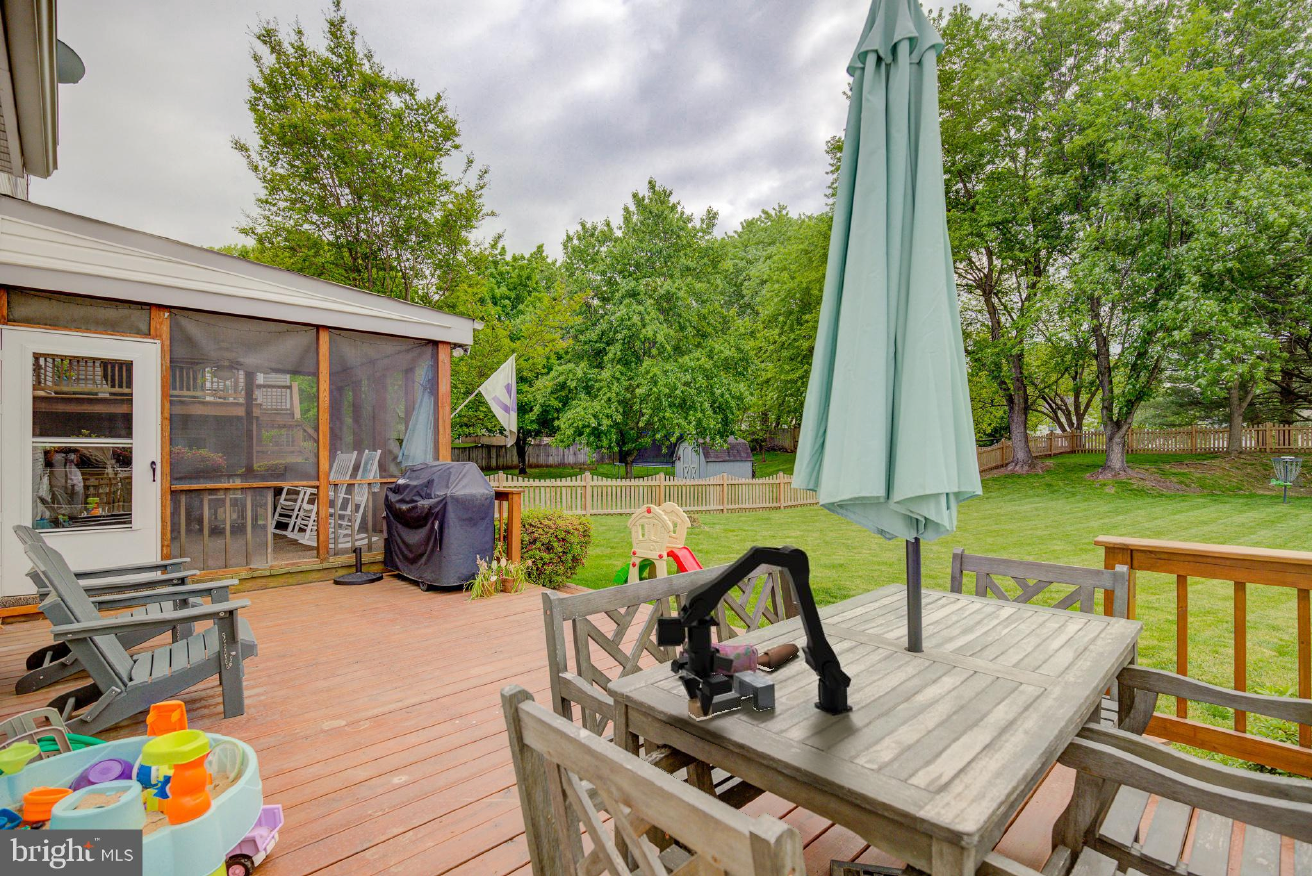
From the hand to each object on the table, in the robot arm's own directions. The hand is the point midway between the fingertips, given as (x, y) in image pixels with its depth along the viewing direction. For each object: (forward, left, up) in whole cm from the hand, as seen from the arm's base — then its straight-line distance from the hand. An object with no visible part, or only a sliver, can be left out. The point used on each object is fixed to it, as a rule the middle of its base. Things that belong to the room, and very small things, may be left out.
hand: (701, 712), depth 131 cm
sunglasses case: (+20, -38, -2) cm, 44 cm away
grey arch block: (0, -16, -1) cm, 16 cm away
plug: (0, -4, -1) cm, 4 cm away
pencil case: (+20, -19, -1) cm, 28 cm away
